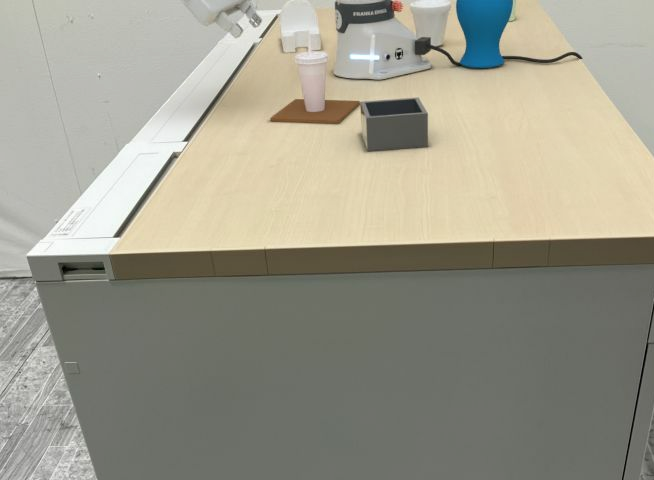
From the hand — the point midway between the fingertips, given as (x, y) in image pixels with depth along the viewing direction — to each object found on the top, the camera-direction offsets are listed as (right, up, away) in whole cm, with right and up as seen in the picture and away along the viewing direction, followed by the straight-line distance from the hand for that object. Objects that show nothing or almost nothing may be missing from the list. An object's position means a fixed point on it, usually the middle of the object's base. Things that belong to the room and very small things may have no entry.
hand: (249, 29), depth 158 cm
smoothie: (+12, -13, +6) cm, 19 cm away
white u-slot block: (+6, +29, +57) cm, 64 cm away
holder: (+27, -26, -10) cm, 39 cm away
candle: (+61, +42, +69) cm, 101 cm away
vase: (+49, +9, +30) cm, 58 cm away
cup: (+39, +23, +48) cm, 66 cm away
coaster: (+12, -13, +6) cm, 19 cm away
